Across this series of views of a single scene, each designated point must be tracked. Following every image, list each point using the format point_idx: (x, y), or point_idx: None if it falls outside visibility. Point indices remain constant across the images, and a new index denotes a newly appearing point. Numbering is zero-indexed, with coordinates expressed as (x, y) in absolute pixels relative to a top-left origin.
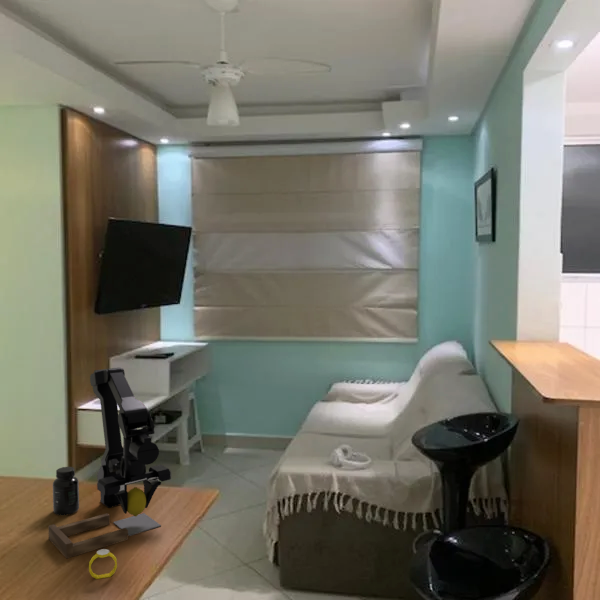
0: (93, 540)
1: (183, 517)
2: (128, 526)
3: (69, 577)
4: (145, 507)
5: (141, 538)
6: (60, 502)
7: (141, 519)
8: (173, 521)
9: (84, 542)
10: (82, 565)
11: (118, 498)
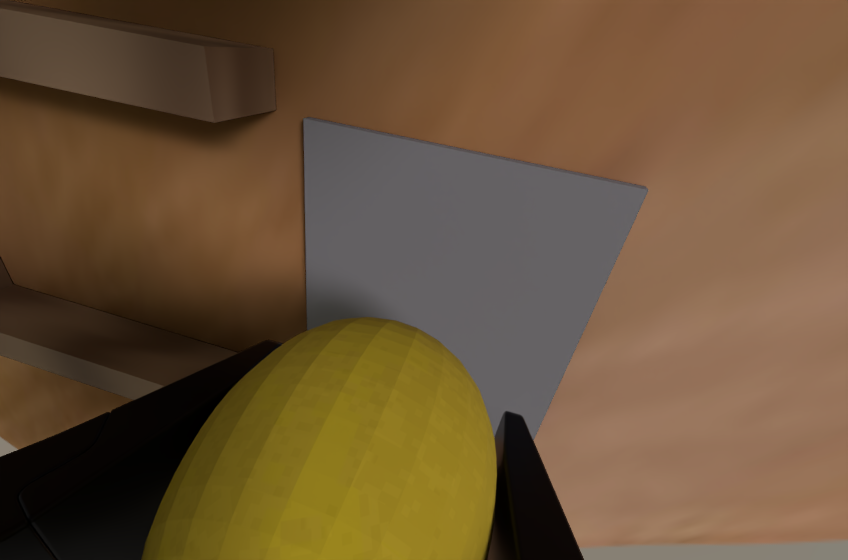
0: (61, 374)
1: (758, 485)
2: (361, 294)
3: (29, 409)
4: (495, 435)
5: None
6: None
7: (511, 283)
8: (648, 463)
9: (15, 356)
10: (68, 390)
11: (47, 458)
